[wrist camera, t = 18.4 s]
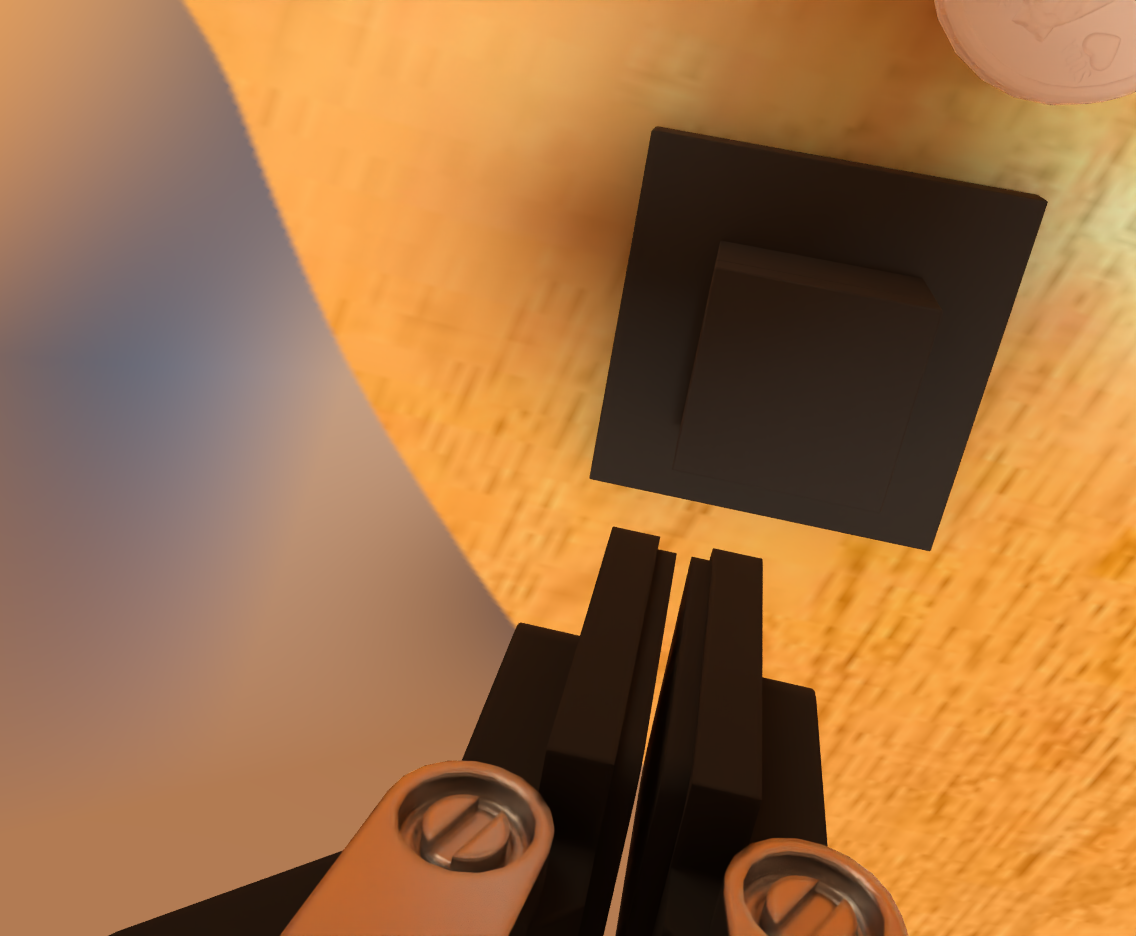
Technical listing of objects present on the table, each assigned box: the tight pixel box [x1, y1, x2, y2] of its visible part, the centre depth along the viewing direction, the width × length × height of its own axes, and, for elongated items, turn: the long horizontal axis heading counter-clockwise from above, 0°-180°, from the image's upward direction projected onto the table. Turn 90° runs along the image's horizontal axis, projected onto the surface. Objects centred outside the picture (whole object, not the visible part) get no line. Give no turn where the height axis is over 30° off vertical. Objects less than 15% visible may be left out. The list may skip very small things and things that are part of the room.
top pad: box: [672, 241, 943, 513], centre depth 33 cm, size 6×6×4 cm
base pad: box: [590, 127, 1048, 551], centre depth 34 cm, size 12×12×3 cm
